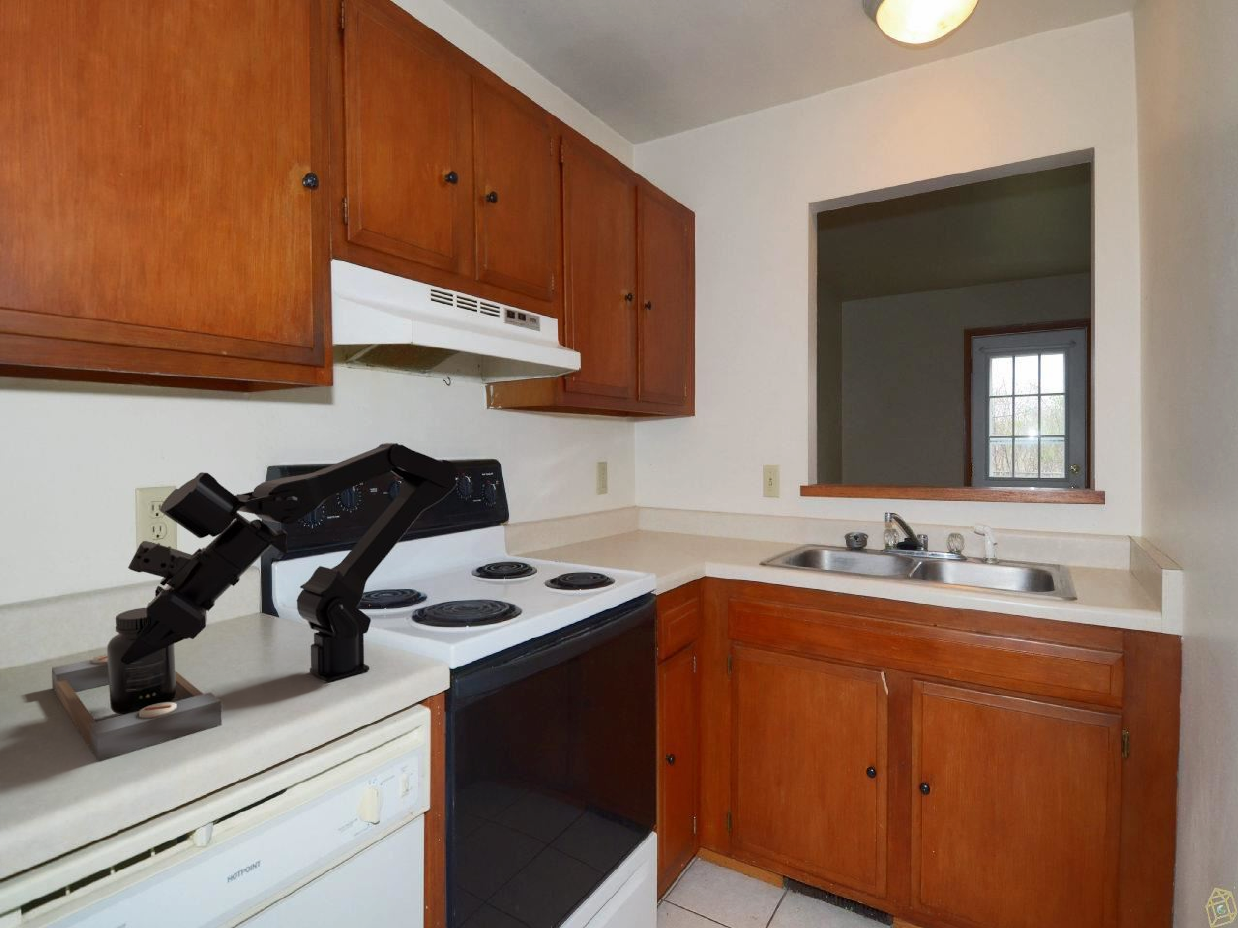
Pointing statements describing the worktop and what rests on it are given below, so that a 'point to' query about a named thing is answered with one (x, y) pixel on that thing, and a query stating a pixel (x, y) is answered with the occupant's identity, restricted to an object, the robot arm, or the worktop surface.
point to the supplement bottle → (138, 669)
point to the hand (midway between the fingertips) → (127, 654)
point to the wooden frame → (137, 726)
